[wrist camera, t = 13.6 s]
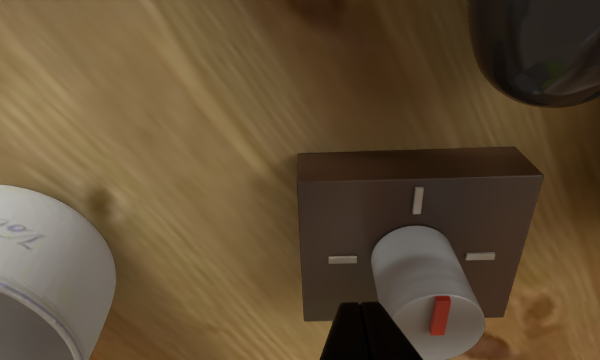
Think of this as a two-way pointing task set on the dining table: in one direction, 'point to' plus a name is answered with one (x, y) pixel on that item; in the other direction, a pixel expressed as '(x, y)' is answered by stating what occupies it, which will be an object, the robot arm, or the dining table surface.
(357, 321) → the robot arm
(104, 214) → the dining table surface
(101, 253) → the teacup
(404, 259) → the dial
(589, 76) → the black glossy ovoid
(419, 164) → the panel
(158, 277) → the dining table surface
